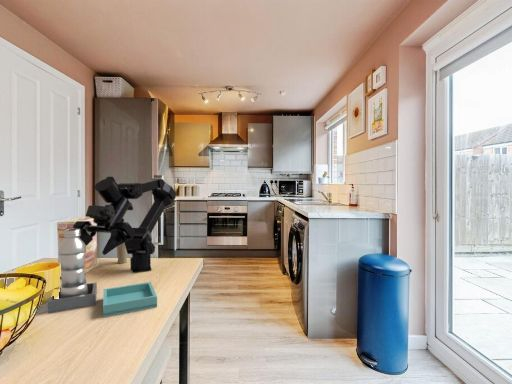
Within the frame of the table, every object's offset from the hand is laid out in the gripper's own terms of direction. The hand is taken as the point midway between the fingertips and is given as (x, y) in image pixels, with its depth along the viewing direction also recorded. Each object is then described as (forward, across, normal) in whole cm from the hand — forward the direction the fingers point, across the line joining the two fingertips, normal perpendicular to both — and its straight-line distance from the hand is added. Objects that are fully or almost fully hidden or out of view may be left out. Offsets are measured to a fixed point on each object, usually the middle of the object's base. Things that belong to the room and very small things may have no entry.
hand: (90, 253), depth 86 cm
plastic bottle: (+13, 0, +4) cm, 14 cm away
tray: (+11, +15, +6) cm, 20 cm away
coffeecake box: (-4, -21, +21) cm, 30 cm away
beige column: (-14, -14, +31) cm, 37 cm away
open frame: (+13, 0, +4) cm, 13 cm away
